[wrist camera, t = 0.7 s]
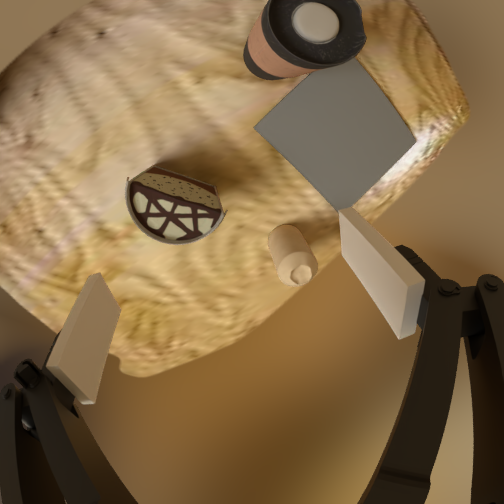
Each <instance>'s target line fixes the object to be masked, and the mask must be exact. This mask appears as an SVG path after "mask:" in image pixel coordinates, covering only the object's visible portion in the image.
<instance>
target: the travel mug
mask: <svg viewBox="0 0 504 504" xmlns="http://www.w3.org/2000/svg"><path fill="white" fill-rule="evenodd" d="M361 13H362V10H361V7H360V6H359V4H358V3H357V2H356V1H355V0H269V1H268V2H267V4H266V6H265V7H264V9H263V11H262V12H261V14H260V16H259V17H258V19H257V21H256V22H255V24H254V26H253V28H252V29H251V31H250V34H249V36H248V39H247V42H246V45H245V48H244V54H243V56H244V62H245V64H246V66H247V68H248V69H249V70H250V71H251V72H252V73H253V74H254V75H256V76H257V77H260V78H262V79H266V80H278V79H284V78H291V77H296V76H300V75H303V74H307V73H310V72H314V71H318V70H322V69H325V68H330V67H334V66H338V65H341V64H344V63H346V62H348V61H350V60H351V59H352V58H354V57H355V56H356V55H357V54H358V53H359V52H360V50H361V49H362V47H363V46H364V44H365V42H366V35H365V33H364V28H363V22H362V16H361Z"/></svg>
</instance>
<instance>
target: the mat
mask: <svg viewBox="0 0 504 504" xmlns="http://www.w3.org/2000/svg"><path fill="white" fill-rule="evenodd" d="M254 129H255V130H256V131H257V132H258V133H259V134H260V135H261V136H263V137H264V138H265V139H266V140H267V141H268V142H269V143H270V144H271V145H272V146H273V147H274V148H275V149H276V150H277V151H278V152H280V153H281V154H282V155H283V156H284V157H285V158H286V159H287V160H288V161H289V162H290V163H291V164H292V165H293V166H294V167H295V168H296V169H297V170H298V171H299V172H300V173H301V174H302V175H303V176H304V177H305V178H306V179H307V180H308V181H309V182H310V183H311V184H312V185H313V186H314V187H315V188H316V189H317V191H318V192H319V193H320V194H321V195H322V196H323V197H324V198H325V199H326V200H327V201H328V202H329V203H330V204H331V205H332V206H333V208H334V209H335V210H336V211H337V212H338V210H341V209H345V208H350V207H351V206H352V205H353V204H354V203H356V202H357V201H358V200H359V199H360V198H361V197H362V196H363V195H364V194H365V193H366V192H367V191H368V190H369V189H370V188H371V187H372V186H373V185H374V184H375V183H376V182H377V181H378V180H379V179H380V178H381V177H382V176H383V175H384V174H385V173H386V172H387V171H388V170H389V169H390V168H391V167H392V166H393V165H394V164H395V163H396V162H397V161H398V160H399V159H400V158H401V157H402V156H403V155H404V154H405V153H406V152H407V151H408V150H409V149H410V148H411V147H412V146H413V145H414V144H415V143H416V140H415V138H414V137H413V135H412V134H411V132H410V130H409V129H408V127H407V126H406V124H405V123H404V121H403V120H402V118H401V117H400V115H399V114H398V112H397V111H396V110H395V108H394V107H393V105H392V104H391V103H390V101H389V100H388V98H387V97H386V96H385V94H384V93H383V92H382V90H381V89H380V88H379V87H378V85H377V84H376V83H375V81H374V80H373V79H372V78H371V76H370V75H369V74H368V73H367V71H366V70H365V69H364V68H363V67H362V65H361V64H360V63H359V62H358V61H357V60H356V58H355V57H354V58H352V59H351V60H350V61H348V62H346V63H344V64H341V65H338V66H334V67H330V68H325V69H322V70H318V71H314V72H312V73H310V74H309V75H308V76H307V77H306V78H305V79H304V80H303V81H302V82H300V83H299V84H298V85H297V86H296V87H295V88H294V89H293V90H292V91H291V92H290V93H289V94H288V95H286V96H285V97H284V98H283V99H282V100H281V101H280V102H279V103H278V104H277V105H276V106H275V107H274V108H273V109H272V110H271V111H270V112H269V113H268V114H267V115H266V116H265V117H264V118H263V119H262V120H261V121H260V122H259V123H258V124H257V125H256V126H255V127H254ZM338 213H339V212H338Z"/></svg>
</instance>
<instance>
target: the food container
mask: <svg viewBox="0 0 504 504" xmlns="http://www.w3.org/2000/svg"><path fill="white" fill-rule="evenodd" d="M128 180H129V177H128V178H127V182H126V187H125V199H126V205H127V208H128V211H129V214H130V216H131V218H132V220H133V221H134V223H135V224H136V225H137V227H138V228H139V229H140V230H141V231H142V232H144V233H145V234H146V235H147V236H149V237H151V238H152V239H154V240H157V241H159V242H162V243H166V244H173V245H184V244H189V243H193V242H196V241H198V240H200V239H202V238H204V237H206V236H208V235H209V234H210V233H212V232H213V231H214V230H215V229H216V228H217V227H218V226H219V224H220V223H221V222H222V220H223V219H224V217H225V215H226V213H227V211H228V210H226V212H225V213H224V212H223V209H222V205H221V202H220V199H219V195H218V192H217V189H216V186H214V185H211V184H208V183H205V182H202V181H199V180H197V179H194V178H191V177H188V176H185V175H182V174H179V173H176V172H173V171H170V170H167V169H164V168H161V167H158V166H155V165H153V166H151V167H150V168H148V169H147V170H145V171H143V172H142V173H140V174H139V175H137V176H136V177H134V178H133V179H131V180H130V181H128Z"/></svg>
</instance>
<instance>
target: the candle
mask: <svg viewBox="0 0 504 504" xmlns="http://www.w3.org/2000/svg"><path fill="white" fill-rule="evenodd" d="M268 247H269V250H270V253H271V256H272V259H273V262H274V265H275V268H276V271H277V274H278V277H279V279H280V280H281V281H282V282H283V283H284V284H285V285H288V286H292V287H297V286H302V285H305V284H306V283H308V282H310V281H311V280H312V279H313V278H314V277H315V275H316V273H317V270H318V262H317V260H316V258H315V256H314V254H313V253H312V251H311V249H310V247H309V246H308V244H307V242H306V240H305V239H304V237H303V235H302V234H301V232H300V231H299V230H298V229H297V228H296V227H294V226H292V225H281V226H278V227H276V228H275V229H274V230H273V231H272V232H271V233H270V235H269V238H268Z"/></svg>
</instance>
